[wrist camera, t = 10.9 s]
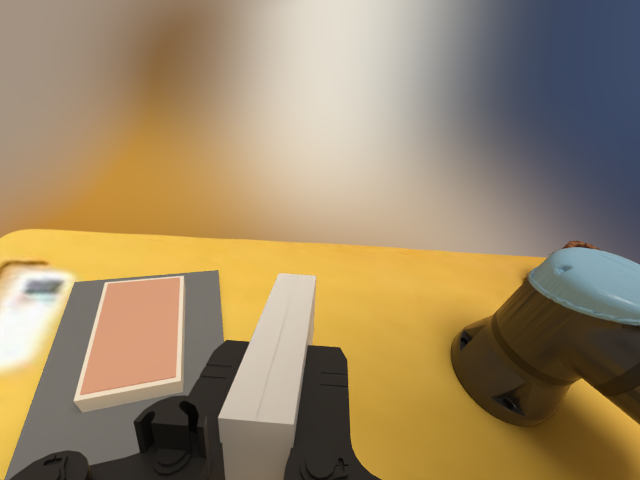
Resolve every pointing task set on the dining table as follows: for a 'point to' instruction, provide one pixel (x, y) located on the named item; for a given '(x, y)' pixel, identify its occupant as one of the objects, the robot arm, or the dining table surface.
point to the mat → (66, 365)
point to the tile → (135, 344)
